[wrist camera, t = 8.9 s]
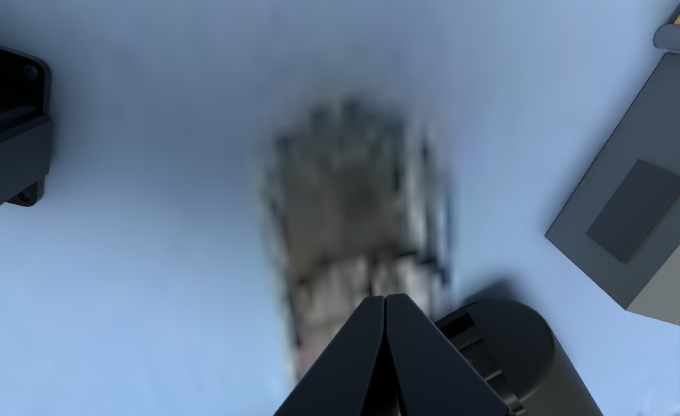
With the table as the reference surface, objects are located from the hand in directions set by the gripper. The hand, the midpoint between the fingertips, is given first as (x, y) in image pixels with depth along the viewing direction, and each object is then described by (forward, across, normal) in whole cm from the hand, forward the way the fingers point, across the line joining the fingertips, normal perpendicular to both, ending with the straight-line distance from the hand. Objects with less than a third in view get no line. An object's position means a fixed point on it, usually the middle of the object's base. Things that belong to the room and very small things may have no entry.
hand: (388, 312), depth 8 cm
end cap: (+12, +5, -16) cm, 21 cm away
